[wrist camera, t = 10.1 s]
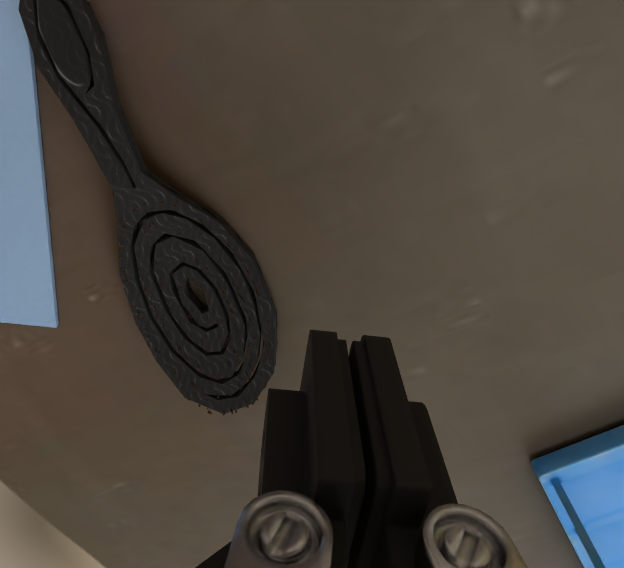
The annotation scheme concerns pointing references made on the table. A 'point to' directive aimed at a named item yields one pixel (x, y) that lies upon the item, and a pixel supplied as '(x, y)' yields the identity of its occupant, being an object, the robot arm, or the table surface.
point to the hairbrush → (161, 229)
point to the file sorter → (589, 496)
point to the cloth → (22, 185)
